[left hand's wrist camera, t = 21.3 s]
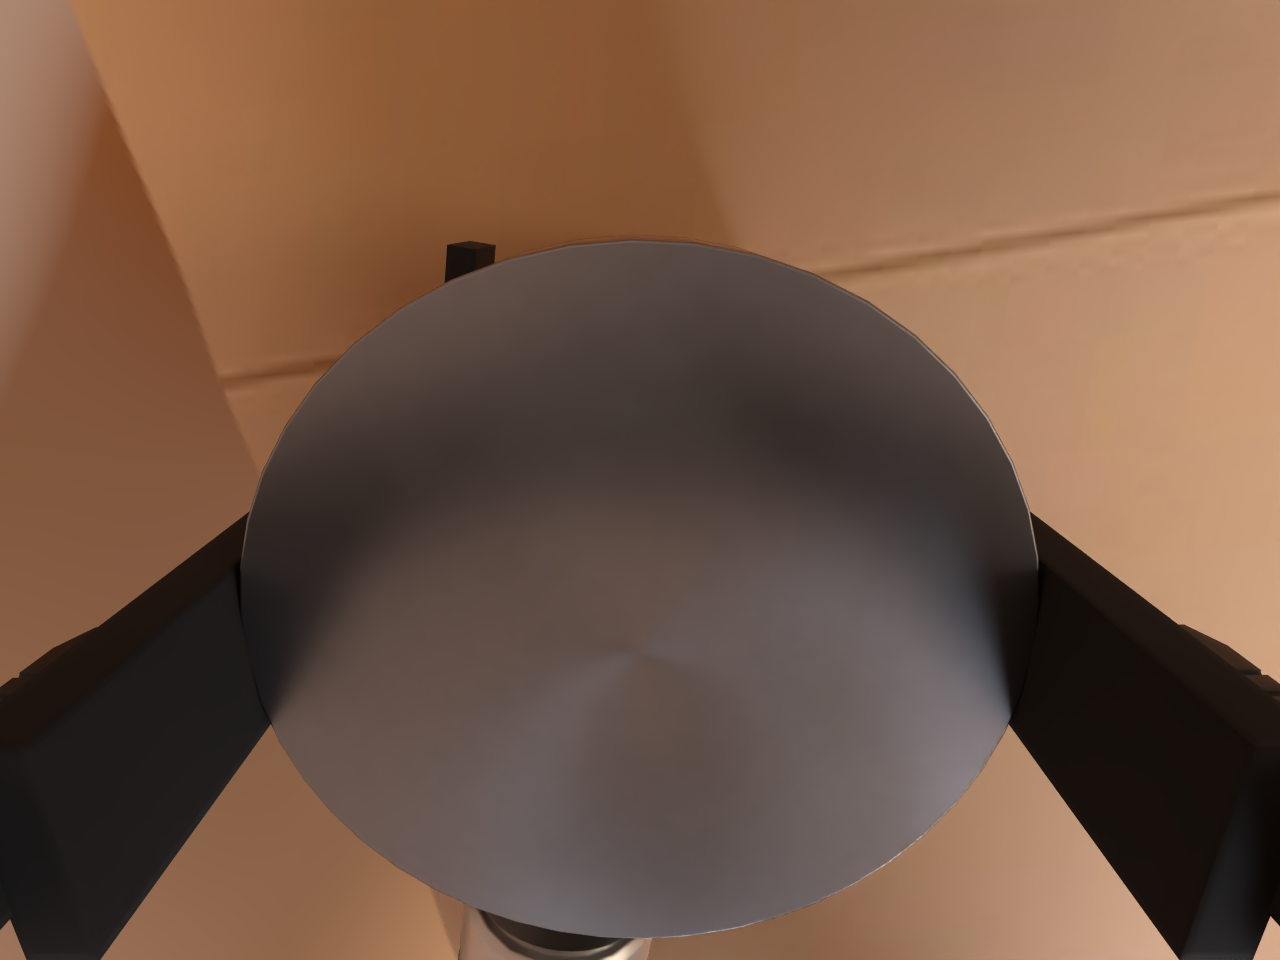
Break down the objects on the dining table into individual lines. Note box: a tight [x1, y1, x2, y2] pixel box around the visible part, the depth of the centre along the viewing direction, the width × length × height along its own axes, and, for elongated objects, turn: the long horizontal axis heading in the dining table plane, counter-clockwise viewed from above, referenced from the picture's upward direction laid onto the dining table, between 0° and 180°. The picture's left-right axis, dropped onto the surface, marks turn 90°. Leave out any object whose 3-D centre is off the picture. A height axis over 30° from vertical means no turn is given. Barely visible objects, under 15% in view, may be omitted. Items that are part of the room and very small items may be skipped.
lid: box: [240, 235, 1040, 939], centre depth 11 cm, size 11×11×2 cm
